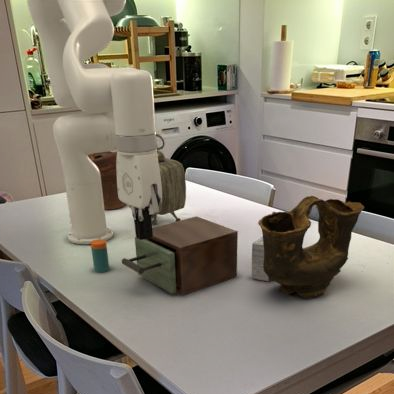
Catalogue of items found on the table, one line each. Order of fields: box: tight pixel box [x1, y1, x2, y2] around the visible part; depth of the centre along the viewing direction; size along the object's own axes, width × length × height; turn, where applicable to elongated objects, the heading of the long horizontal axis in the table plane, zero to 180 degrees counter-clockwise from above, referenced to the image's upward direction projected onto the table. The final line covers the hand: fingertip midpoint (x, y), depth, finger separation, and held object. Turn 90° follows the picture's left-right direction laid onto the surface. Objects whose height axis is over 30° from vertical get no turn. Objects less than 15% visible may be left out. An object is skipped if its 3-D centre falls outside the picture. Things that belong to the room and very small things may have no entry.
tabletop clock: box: [152, 133, 187, 226], centre depth 147 cm, size 14×9×25 cm, turn 50°
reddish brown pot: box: [88, 150, 127, 210], centre depth 167 cm, size 18×20×18 cm
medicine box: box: [250, 236, 271, 282], centre depth 116 cm, size 8×4×9 cm, turn 148°
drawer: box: [121, 236, 179, 294], centre depth 113 cm, size 20×14×9 cm
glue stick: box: [90, 239, 110, 273], centre depth 121 cm, size 4×4×7 cm
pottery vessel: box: [257, 195, 365, 299], centre depth 106 cm, size 25×11×20 cm, turn 123°
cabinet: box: [146, 215, 239, 297], centre depth 116 cm, size 16×15×11 cm
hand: (144, 237), depth 106 cm, fingers closed
